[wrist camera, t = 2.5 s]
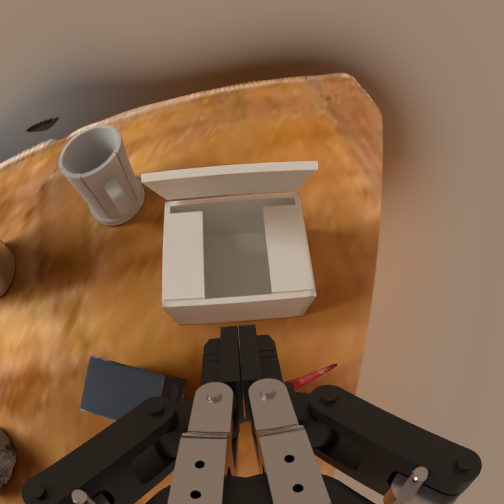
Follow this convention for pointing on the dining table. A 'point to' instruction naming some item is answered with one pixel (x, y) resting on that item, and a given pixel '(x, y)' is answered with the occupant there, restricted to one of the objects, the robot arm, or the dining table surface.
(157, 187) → the flap
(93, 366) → the box
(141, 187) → the cup
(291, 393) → the robot arm
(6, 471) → the mineral rock
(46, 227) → the dining table surface
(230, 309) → the carton
